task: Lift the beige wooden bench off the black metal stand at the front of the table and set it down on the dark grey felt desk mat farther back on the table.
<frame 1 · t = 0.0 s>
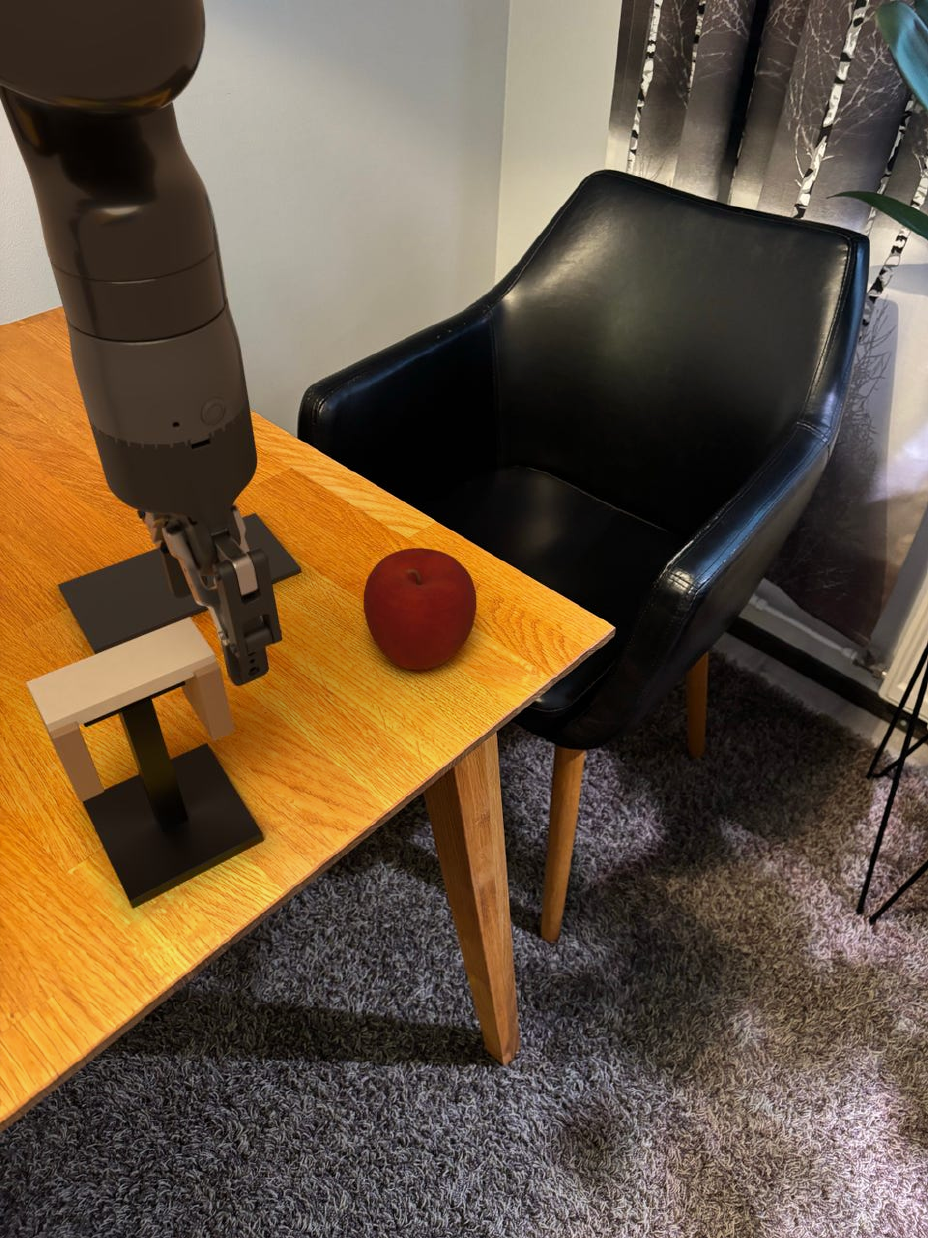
hand: (218, 632, 57), 21 cm above the table, tool pointing down, fingers open, 8 cm apart
apple: (421, 653, 85), on the table
mat: (182, 580, 91), on the table
beige wooden bench: (145, 740, 65), point 10 cm above the table, touching stand
stand: (173, 824, 72), on the table
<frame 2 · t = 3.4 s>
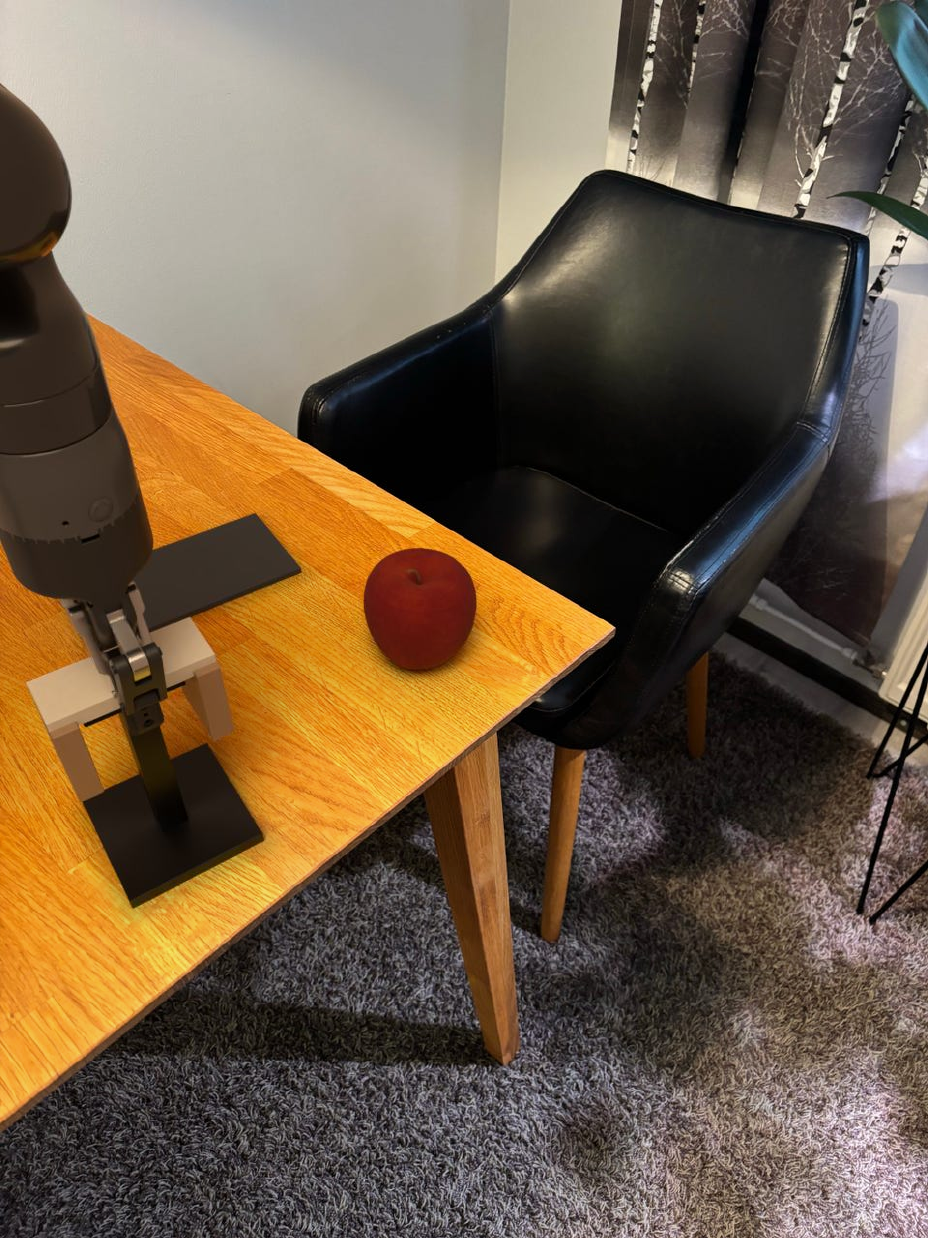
hand: (133, 703, 62), 14 cm above the table, tool pointing down, fingers closed on beige wooden bench, 4 cm apart
beige wooden bench: (145, 740, 65), point 10 cm above the table, touching gripper, stand
everything else where it was.
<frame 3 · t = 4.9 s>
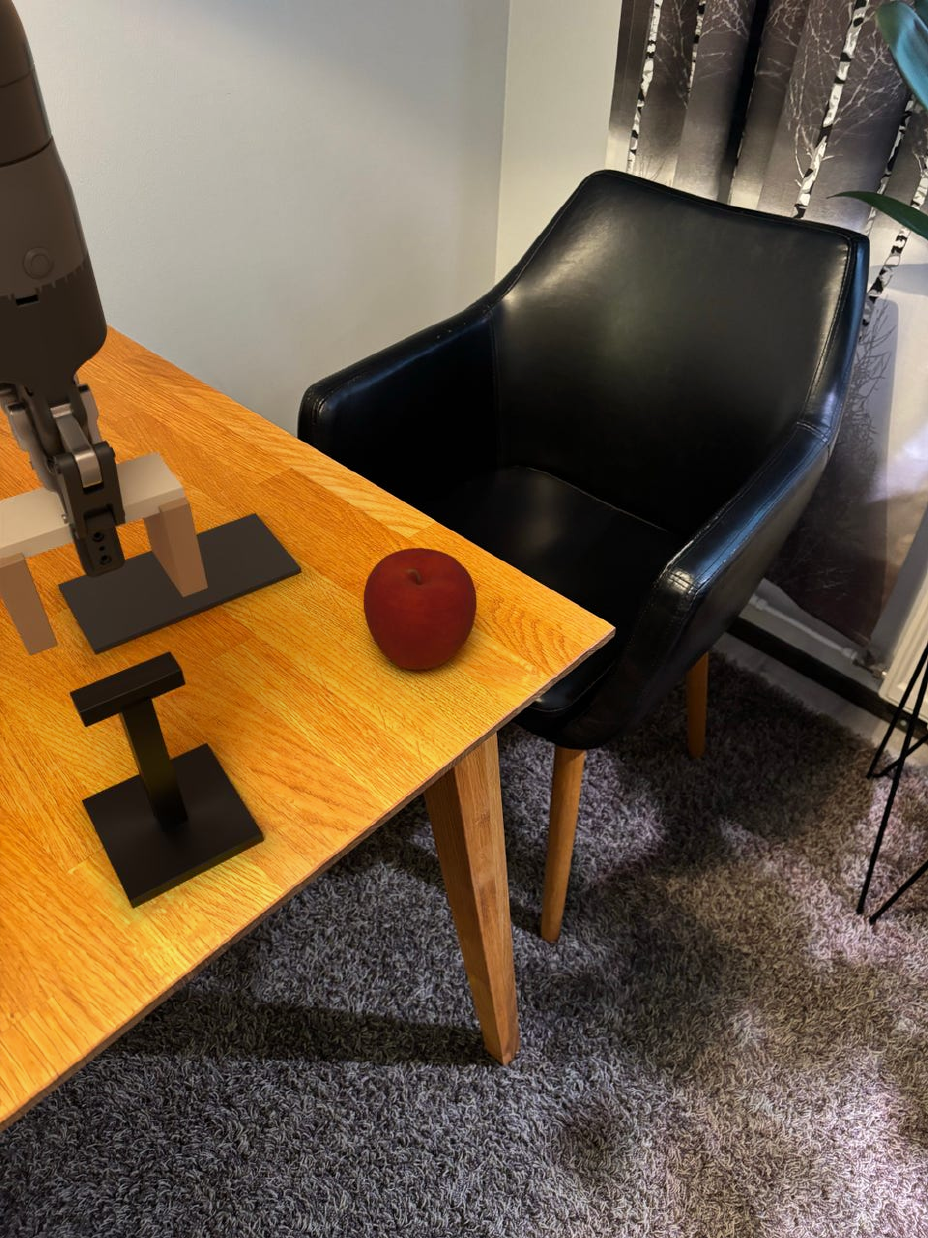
hand: (91, 545, 55), 26 cm above the table, tool pointing down, fingers closed on beige wooden bench, 4 cm apart
beige wooden bench: (107, 595, 58), point 22 cm above the table, touching gripper
everything else where it was.
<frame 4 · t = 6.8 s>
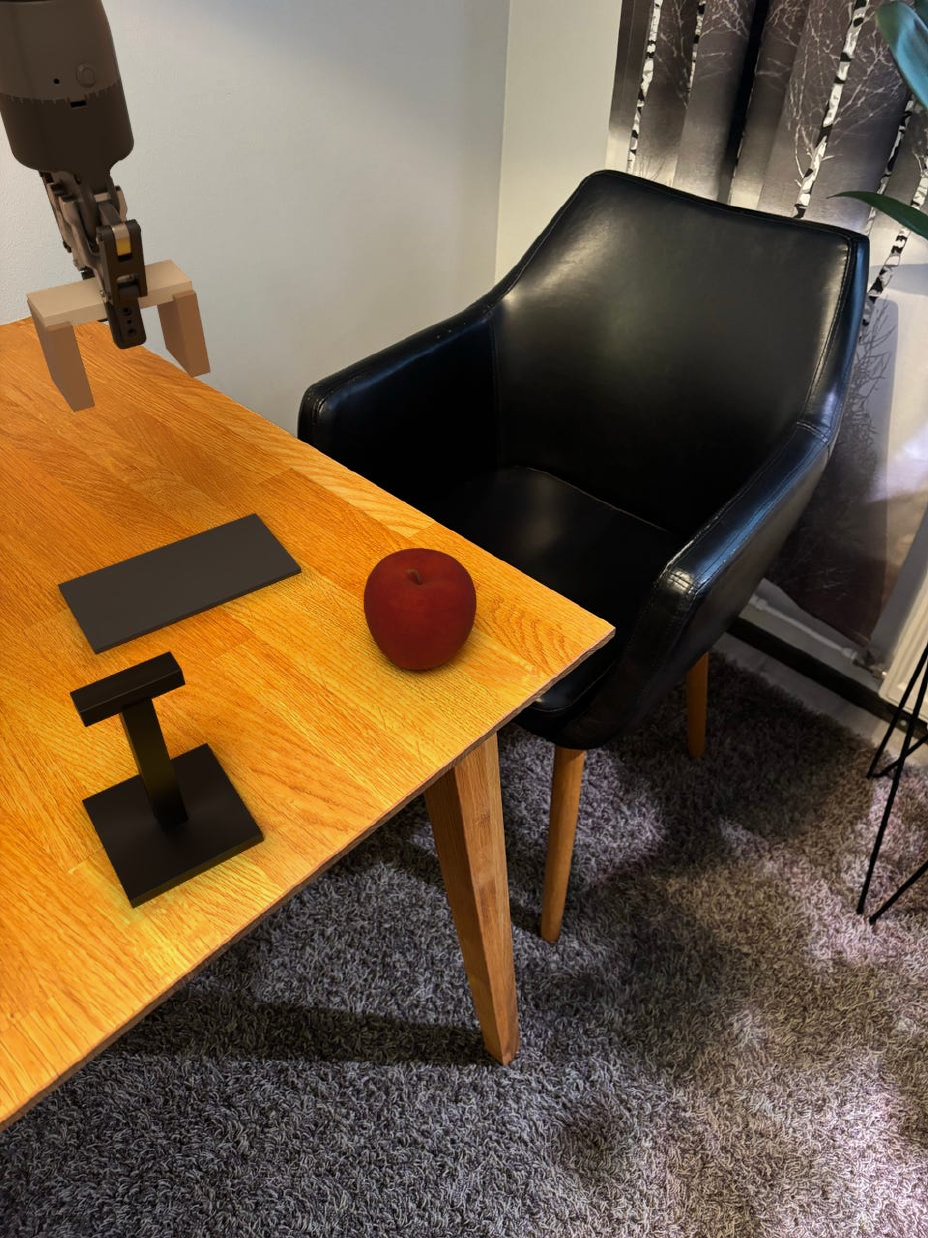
hand: (120, 330, 71), 27 cm above the table, tool pointing down, fingers closed on beige wooden bench, 4 cm apart
beige wooden bench: (132, 376, 74), point 23 cm above the table, touching gripper
everything else where it was.
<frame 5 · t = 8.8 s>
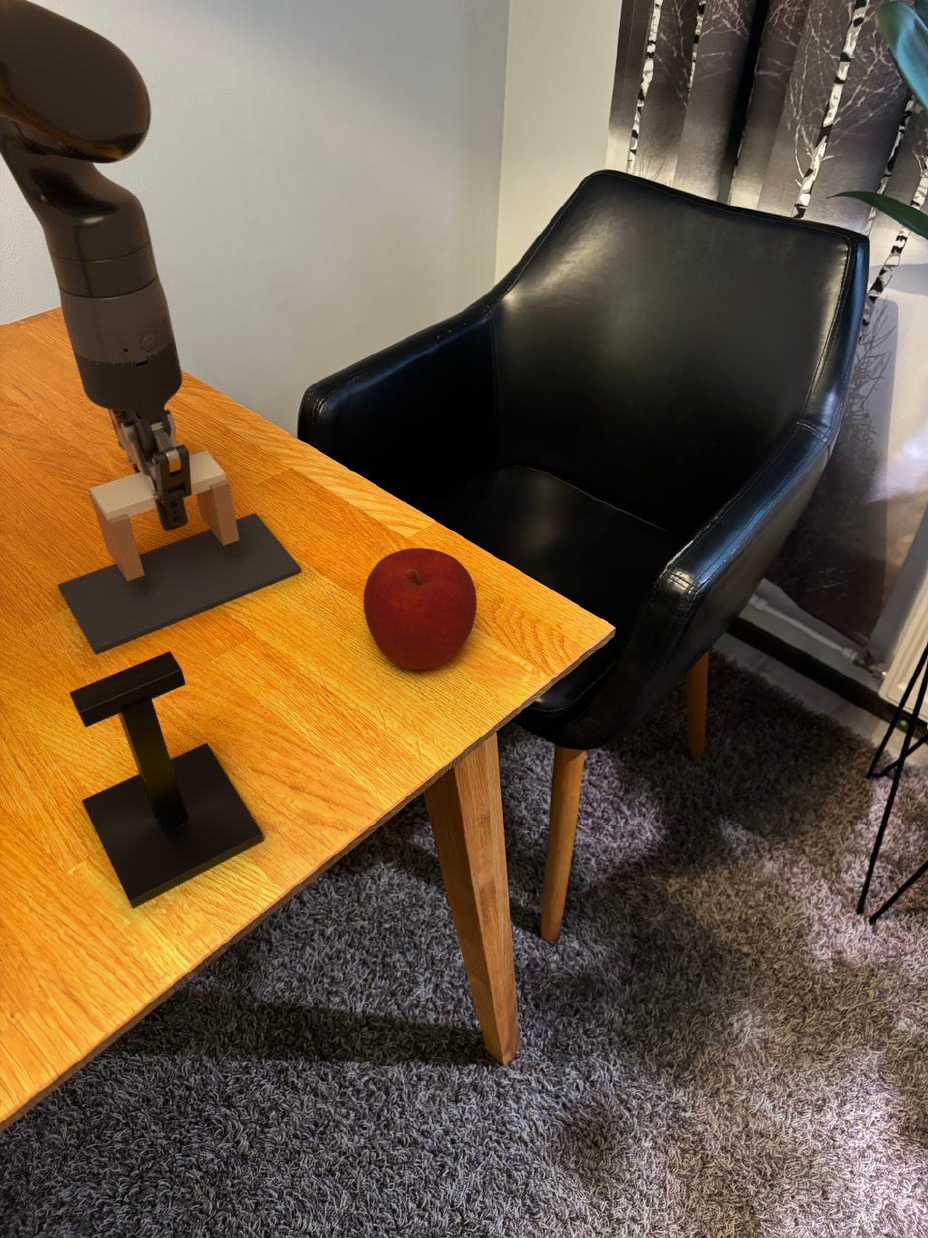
hand: (165, 511, 85), 8 cm above the table, tool pointing down, fingers closed on beige wooden bench, 4 cm apart
beige wooden bench: (173, 544, 88), point 4 cm above the table, touching gripper
everything else where it was.
when the fingers open (4 cm above the table, at t = 10.3 s): beige wooden bench stays where it is, resting on mat.
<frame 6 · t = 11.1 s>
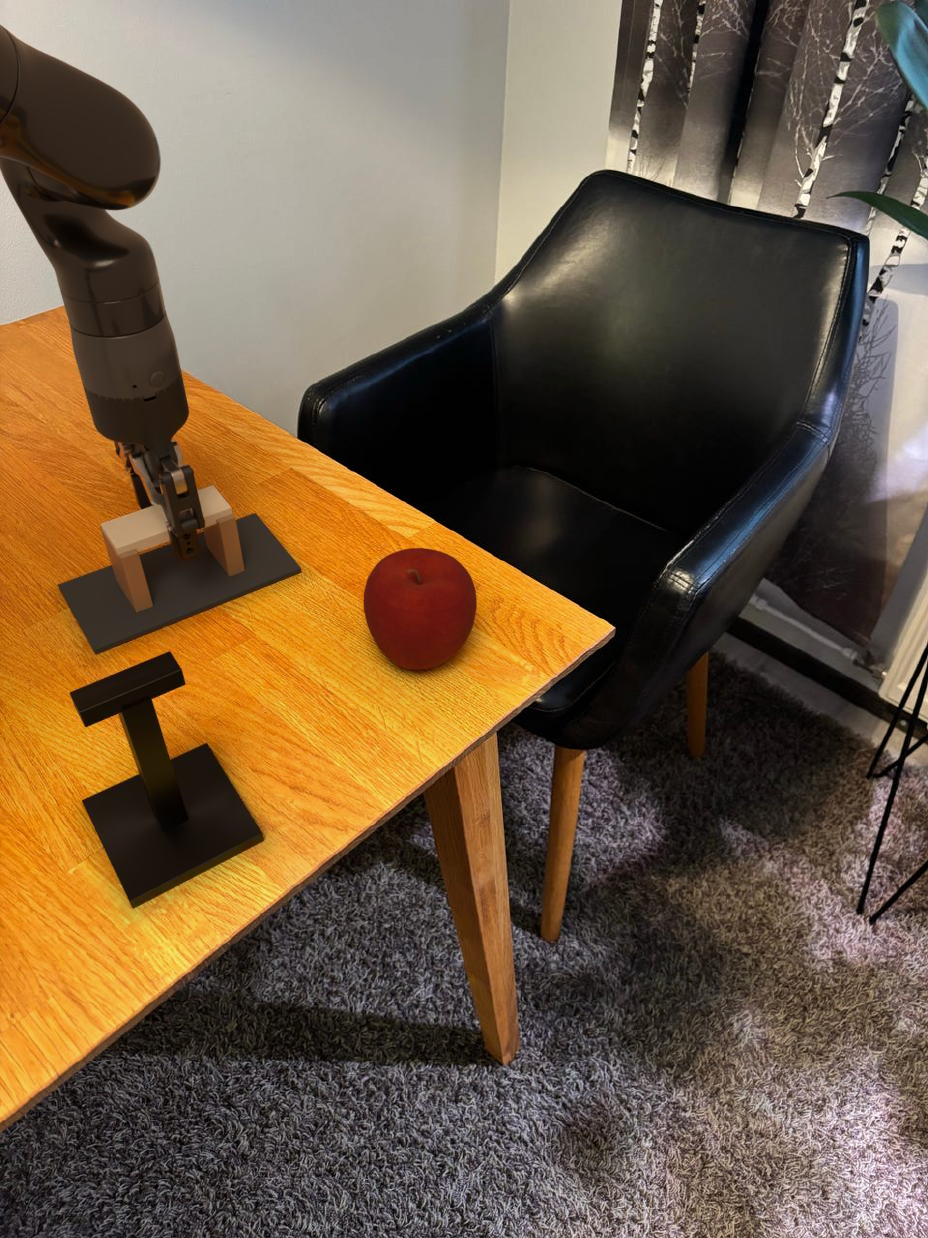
hand: (169, 530, 87), 6 cm above the table, tool pointing down, fingers open, 8 cm apart
beige wooden bench: (181, 575, 91), point 1 cm above the table, touching mat
everything else where it was.
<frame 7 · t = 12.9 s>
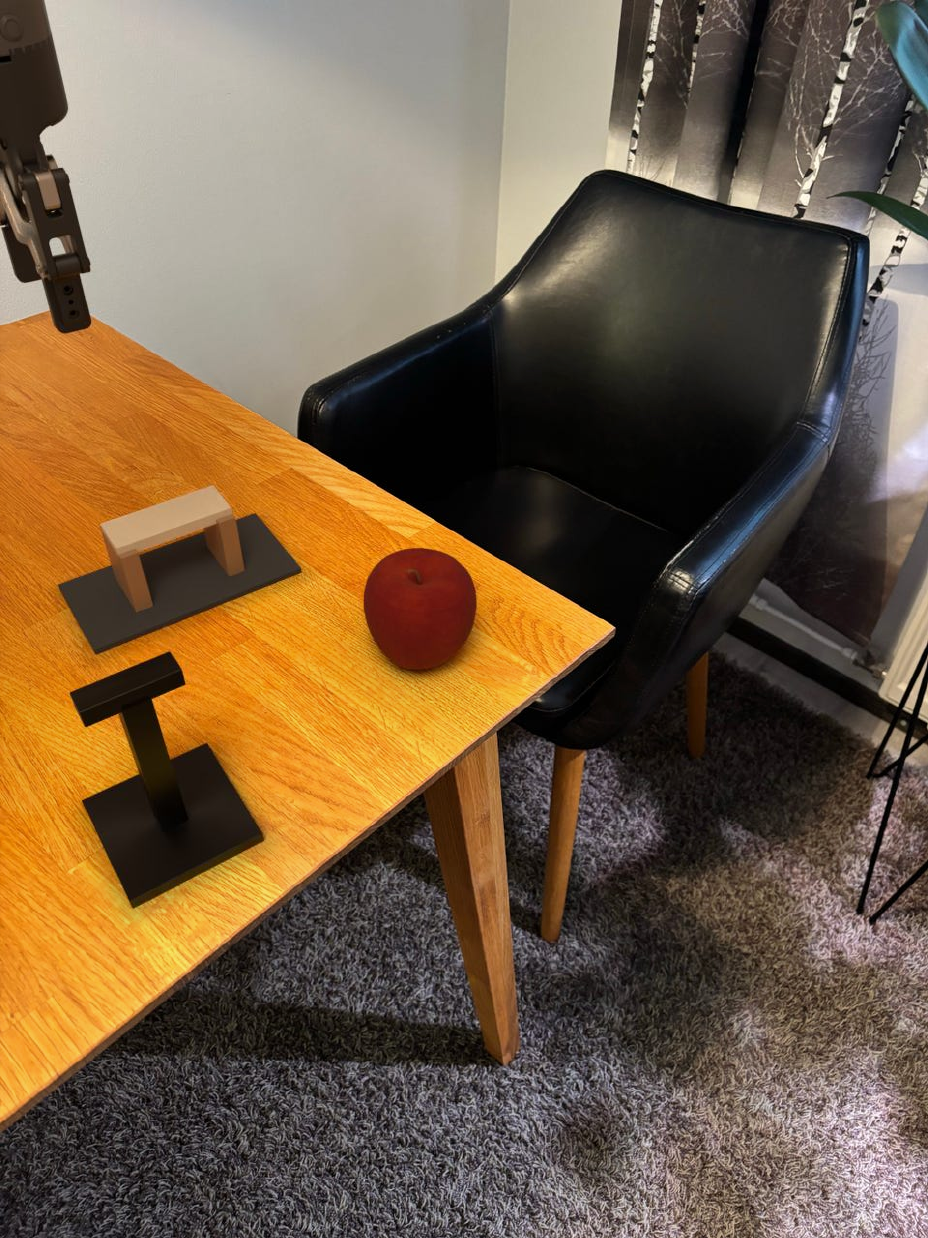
hand: (53, 303, 65), 31 cm above the table, tool pointing down, fingers open, 8 cm apart
nothing on the table moved.
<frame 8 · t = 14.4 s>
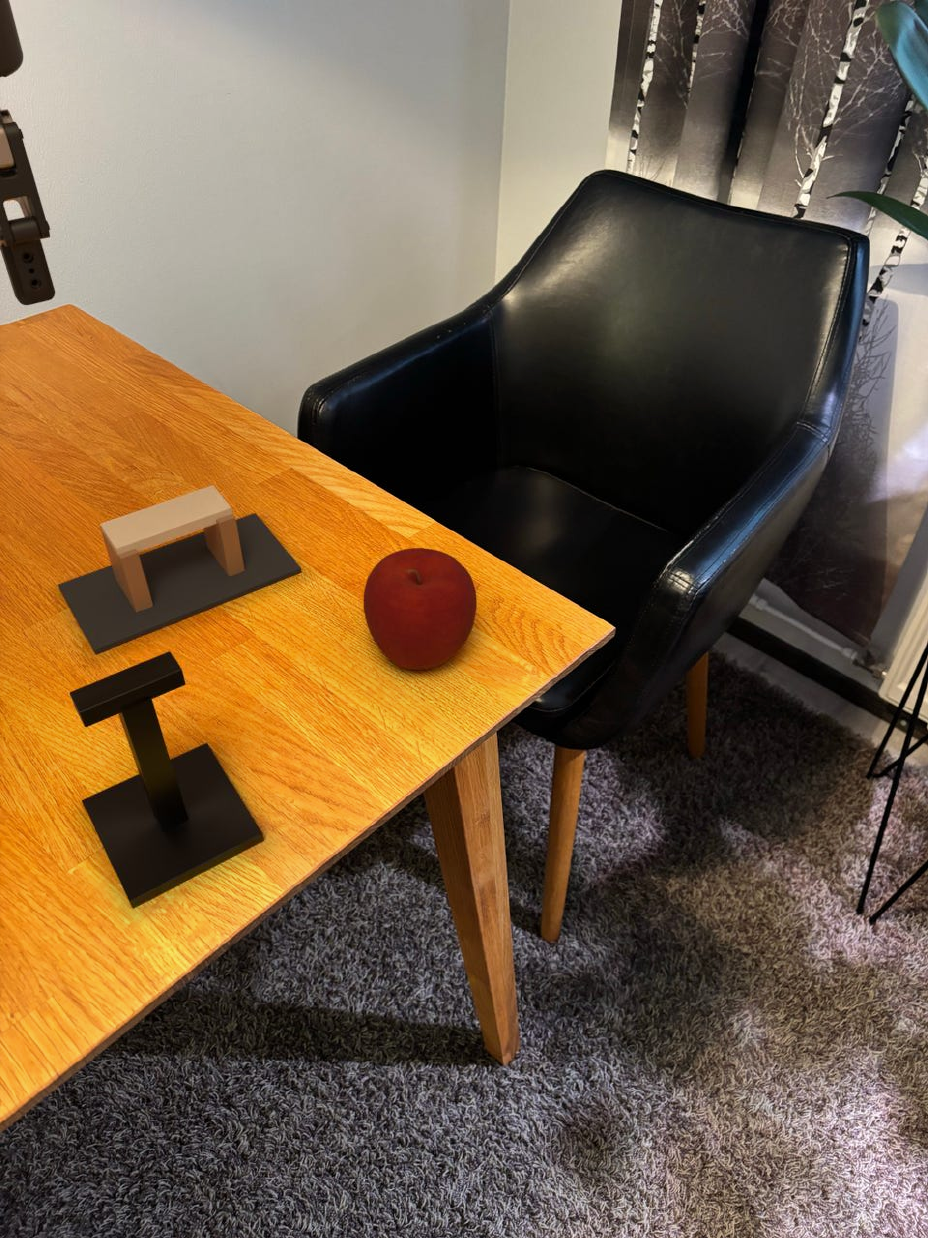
hand: (16, 273, 61), 34 cm above the table, tool pointing down, fingers open, 8 cm apart
nothing on the table moved.
at the end: beige wooden bench inside the target area on the mat (0.0 cm from its centre), point 0.6 cm above the mat's base; beige wooden bench tilted 0°; the gripper is holding nothing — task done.
